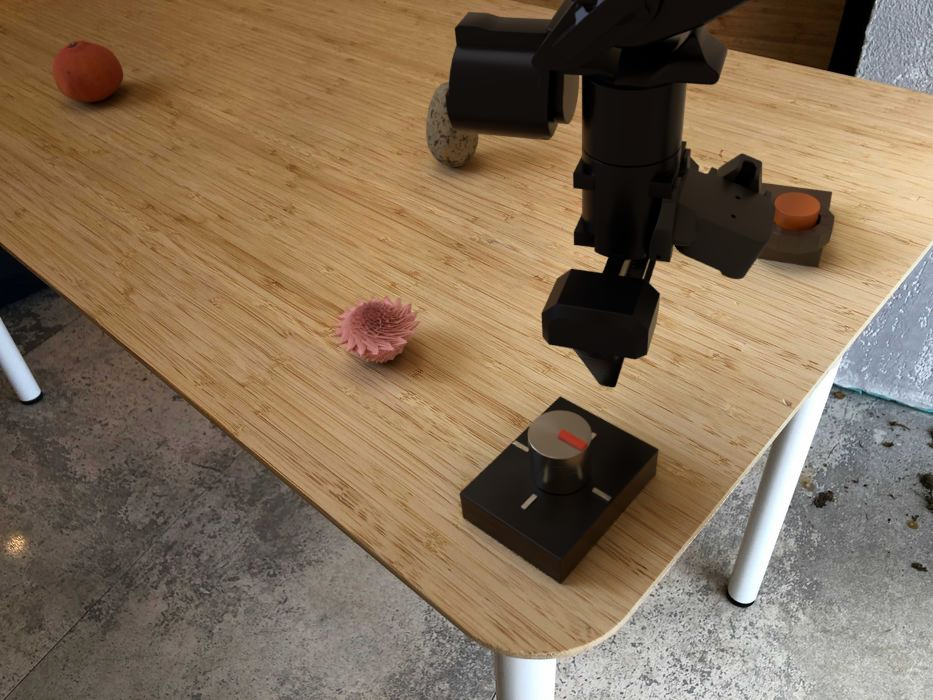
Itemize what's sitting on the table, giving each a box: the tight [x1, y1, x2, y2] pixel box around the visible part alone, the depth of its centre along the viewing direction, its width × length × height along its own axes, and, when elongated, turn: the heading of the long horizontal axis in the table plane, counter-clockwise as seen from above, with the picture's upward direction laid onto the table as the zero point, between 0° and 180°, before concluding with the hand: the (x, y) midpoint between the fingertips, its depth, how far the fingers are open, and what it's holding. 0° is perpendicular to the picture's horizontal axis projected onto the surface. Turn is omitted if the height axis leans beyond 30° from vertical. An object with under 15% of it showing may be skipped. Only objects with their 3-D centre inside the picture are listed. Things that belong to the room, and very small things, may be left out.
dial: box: [528, 410, 592, 495], centre depth 60 cm, size 4×4×4 cm
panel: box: [459, 396, 660, 585], centre depth 62 cm, size 12×9×3 cm
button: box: [774, 192, 820, 231], centre depth 79 cm, size 4×4×2 cm
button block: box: [673, 182, 836, 268], centre depth 84 cm, size 16×12×4 cm
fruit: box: [51, 39, 124, 103], centre depth 118 cm, size 9×9×8 cm
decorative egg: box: [425, 81, 479, 168], centre depth 96 cm, size 6×6×10 cm
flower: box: [328, 294, 421, 364], centre depth 75 cm, size 8×8×6 cm
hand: (623, 340), depth 60 cm, fingers open, 9 cm apart
